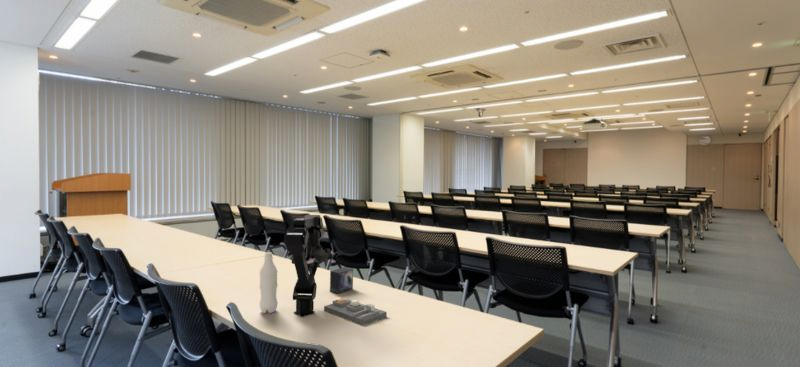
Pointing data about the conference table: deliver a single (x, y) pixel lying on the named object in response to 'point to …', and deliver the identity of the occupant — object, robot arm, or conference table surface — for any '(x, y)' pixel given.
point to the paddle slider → (370, 308)
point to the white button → (355, 303)
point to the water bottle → (268, 285)
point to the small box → (341, 280)
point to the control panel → (354, 312)
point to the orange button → (341, 300)
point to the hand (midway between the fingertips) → (312, 277)
